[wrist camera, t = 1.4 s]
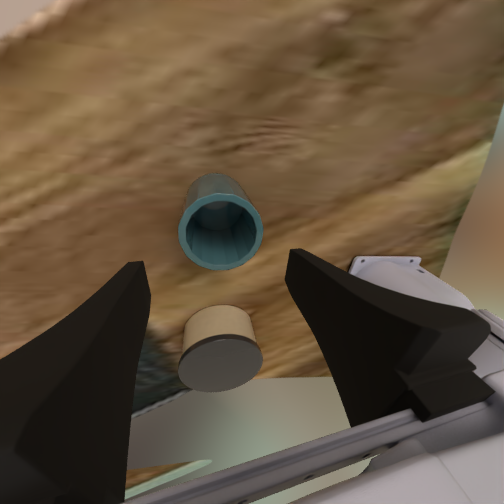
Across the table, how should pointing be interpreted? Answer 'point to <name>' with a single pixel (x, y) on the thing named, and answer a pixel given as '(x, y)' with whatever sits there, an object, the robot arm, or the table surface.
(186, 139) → the table surface
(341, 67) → the table surface
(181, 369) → the jar
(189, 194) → the cup
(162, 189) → the table surface
